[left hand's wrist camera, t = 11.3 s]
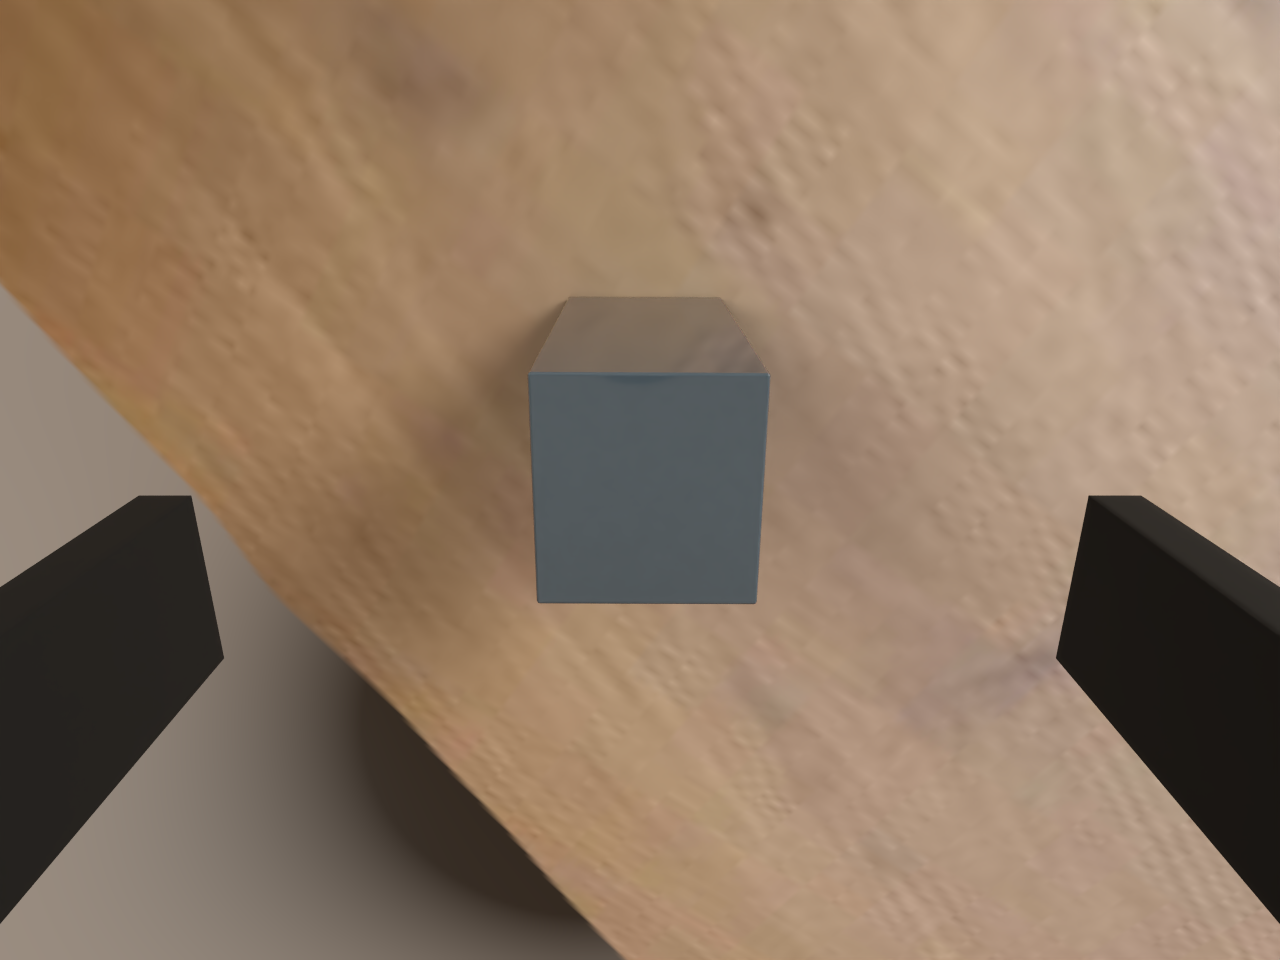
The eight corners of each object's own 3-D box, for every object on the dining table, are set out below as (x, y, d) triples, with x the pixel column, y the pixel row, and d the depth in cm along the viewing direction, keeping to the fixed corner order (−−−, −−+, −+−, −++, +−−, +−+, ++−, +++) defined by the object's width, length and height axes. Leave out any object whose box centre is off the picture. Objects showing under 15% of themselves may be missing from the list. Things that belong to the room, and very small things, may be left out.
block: (572, 452, 28) (536, 604, 18) (568, 296, 26) (527, 372, 16) (715, 453, 28) (757, 605, 18) (721, 297, 26) (771, 373, 16)
